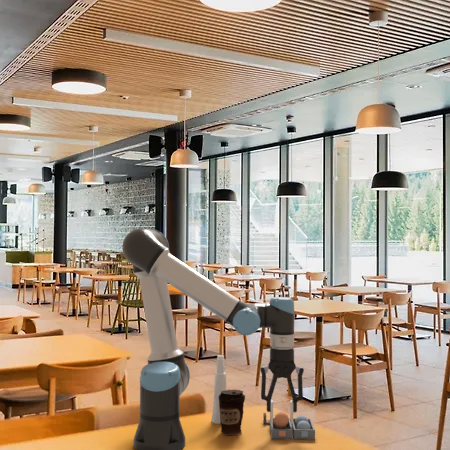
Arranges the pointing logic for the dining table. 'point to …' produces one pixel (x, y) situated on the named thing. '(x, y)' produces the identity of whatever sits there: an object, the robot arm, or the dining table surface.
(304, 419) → the slate ball
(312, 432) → the grey sorting trays
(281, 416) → the orange ball
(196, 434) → the dining table surface
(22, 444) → the dining table surface
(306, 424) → the slate ball
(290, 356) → the robot arm
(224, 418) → the coffee cup
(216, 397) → the cosmetic bottle
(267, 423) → the ball stand
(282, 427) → the rust ball
